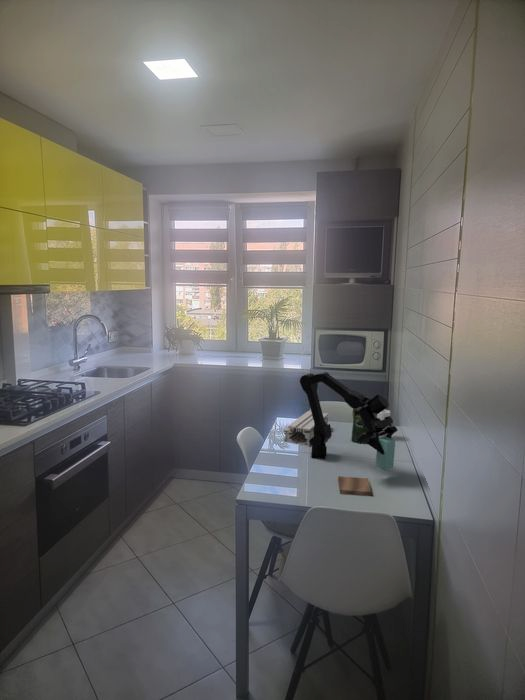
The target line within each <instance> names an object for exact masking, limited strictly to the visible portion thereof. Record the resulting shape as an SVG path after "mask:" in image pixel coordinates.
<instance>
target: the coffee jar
mask: <svg viewBox="0 0 525 700" xmlns="http://www.w3.org/2000/svg"><path fill="white" fill-rule="evenodd" d="M364 407H366V406H364ZM360 408H362V407H359V408H356V409H353V408H352V412H351V413H352V421H353V422H352V429H351V439H350V440H351V442H354V443H357V442H358V443H359V441H358V437H359V436H360V435H361V434H363V433H364V432H368V430H367V428H364V427H363V425H365V424H364V423H363V421H362V419H361V417H360V415H359V416H354V413H355V410H359V409H360ZM367 442H368V441H367V439H366V441H365V443H364V444H366V443H367ZM359 444H360V443H359Z"/></svg>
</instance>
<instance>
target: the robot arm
mask: <svg viewBox="0 0 525 700" xmlns="http://www.w3.org/2000/svg"><path fill="white" fill-rule="evenodd" d="M319 383H323V384H324V385H326V386H327V387H328V388H330V389H331V390H332V391H334V392H335V393H337V394H338V396H341V398H343V400H344V402H345V403H346V404H347V405H348V406H349V407H350V408H352V410H353V409H356V408H359V407H362V408H360V409H359V410H355V413H354V416H359V415H360V417H361V419H362V421H363V423H364V424H365V425H363V427H364V428H367V430H368V432H364V433H363V434H361V435H360V436H359V437H358V441H359V445H362V444H365V445H368V446H370V447H371V448H372V449H374V450H376V452H377V451H378V452H380V453H381V454H382V455H384V454H385V453H384V451H383V448H382V446H381V445H380V443H379V436H382V437H388V438H391V439H392V436H393V435H394V434H395V433H397V432H398V428H397V427H396V426H395V425H393V424H394V423H393V422H394V419H393V418H392V417H391V415H390V416H388V417H385V420H380V419H379V418H377V416H376V415H377V414H379V413H380V412H382V411H383V410H387V409H388V408H389V407H390V404H389V402H388V400H387V399H386V398H385V397H383V396H382V395H380V394H379V393H378V394H376V395H374V397H373V398H370V397H366V396H365V395H364V394H363V393H361V392H358V391H356V390H354V389H351V388H348V387H347V386H346V385H344V384H343V383H341V382H340V381H339V380H337V379H336V378H335V377H333V375H331V374H330V373H328V372H327V371H325V372H322V373H317V374H314V373H313V372H312V373H307V374H303V375H302V376H300V378H299V385H300V386H301V388H302V390H303V392H304V393H305V394H306V397H307V400H308V403H309V407H310V411H311V412H312V416H313V420H314V437H313V438H311V439H310V440H309V443H310V446H311V451H310V452H311V454H310V455H311V458H312V459H323V460H325V459H326V457H327V448H328V447H327V445H326V443H328V441H329V440H331V437H332V436H333V435H332V433H333V431H332V429H331V427H332V426H331V424H330V423H328V425H327V424H326V422H325V421H324V417H323V413H324V412H323V410H322V405H321V401H320V400H319V399H320V398H319V396H318V386H319ZM364 406H365V407H364ZM375 414H376V415H375ZM387 426H389V427H387ZM386 427H387V428H386ZM385 428H386V429H385ZM383 429H384V430H383ZM366 439H367V441H368V442H367V443H365V441H366Z"/></svg>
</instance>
